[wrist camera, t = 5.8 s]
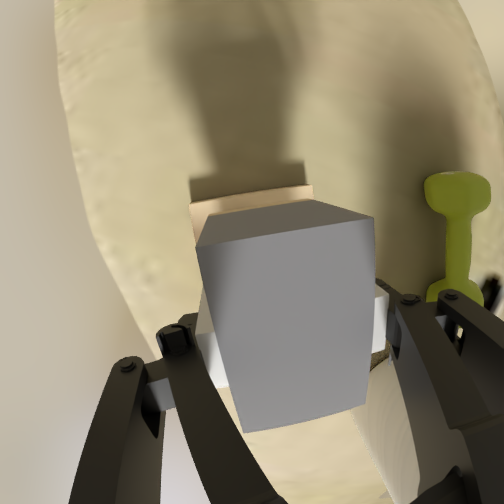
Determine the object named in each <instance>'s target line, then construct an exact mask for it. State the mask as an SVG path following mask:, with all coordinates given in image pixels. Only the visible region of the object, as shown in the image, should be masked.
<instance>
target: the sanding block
mask: <svg viewBox="0 0 504 504" xmlns="http://www.w3.org/2000/svg"><path fill="white" fill-rule="evenodd" d="M195 248H196V253H197V258H198V263H199V267H200V272H201V276H202V281H203V285H204V290H205V294H206V298H207V303H208V307H209V311H210V315H211V319H212V323H213V327H214V331H215V335H216V339H217V343H218V347H219V351H220V354H221V358H222V362H223V365H224V369H225V373H226V376H227V380H228V383H229V387H230V390H231V394H232V397H233V401H234V404H235V407H236V411H237V414H238V417H239V421H240V424H241V427H242V430H243V433H249V432H256V431H262V430H268V429H273V428H278V427H283V426H288V425H293V424H297V423H301V422H306V421H310V420H314V419H318V418H321V417H325V416H329V415H332V414H336V413H339V412H342V411H345V410H349V409H352V408H355V407H358V406H361V405H364V404H365V403H366V396H367V389H368V381H369V373H370V364H371V354H372V343H373V329H374V311H375V233H374V218H373V217H370V216H366V215H363V214H360V213H357V212H354V211H350V210H347V209H344V208H340V207H337V206H333V205H330V204H327V203H323V202H320V201H316V200H312V199H309V198H307V199H300V200H293V201H286V202H279V203H272V204H266V205H260V206H253V207H247V208H241V209H235V210H229V211H224V212H218V213H212V214H209V215H208V217H207V220H206V222H205V225H204V227H203V229H202V232H201V234H200V237H199V239H198V242H197V244H196V247H195Z"/></svg>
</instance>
